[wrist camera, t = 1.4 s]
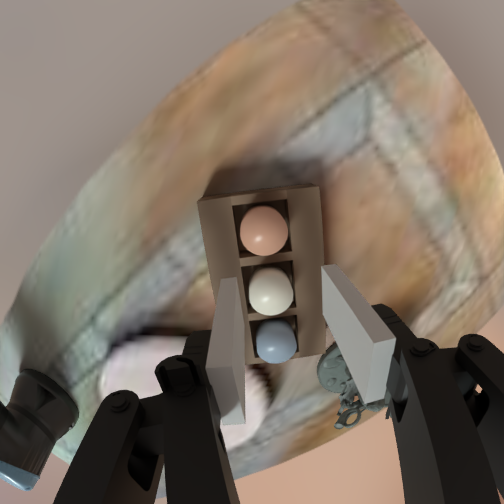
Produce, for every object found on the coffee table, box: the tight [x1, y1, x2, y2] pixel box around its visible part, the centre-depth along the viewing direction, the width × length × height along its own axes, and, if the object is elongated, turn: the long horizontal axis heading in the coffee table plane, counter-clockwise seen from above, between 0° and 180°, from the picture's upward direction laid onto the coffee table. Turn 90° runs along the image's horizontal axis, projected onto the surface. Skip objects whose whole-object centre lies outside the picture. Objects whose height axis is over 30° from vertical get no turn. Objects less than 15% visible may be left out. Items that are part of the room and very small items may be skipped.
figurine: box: [317, 343, 392, 429], centre depth 33 cm, size 11×11×12 cm
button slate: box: [256, 318, 297, 363], centre depth 32 cm, size 4×4×3 cm
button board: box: [197, 184, 326, 365], centre depth 32 cm, size 12×20×4 cm, turn 7°
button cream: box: [249, 265, 293, 316], centre depth 30 cm, size 4×4×3 cm
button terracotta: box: [240, 205, 288, 256], centre depth 28 cm, size 4×4×3 cm
